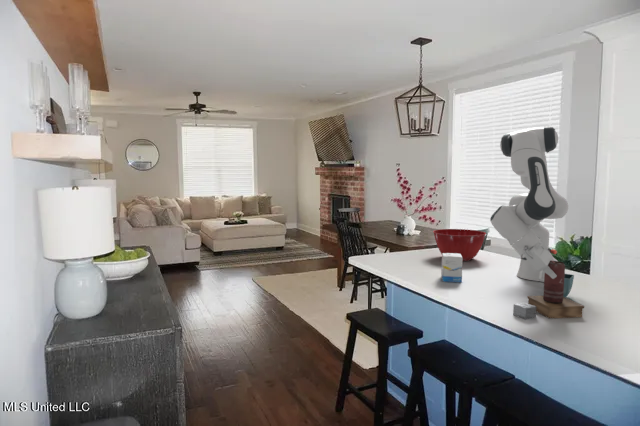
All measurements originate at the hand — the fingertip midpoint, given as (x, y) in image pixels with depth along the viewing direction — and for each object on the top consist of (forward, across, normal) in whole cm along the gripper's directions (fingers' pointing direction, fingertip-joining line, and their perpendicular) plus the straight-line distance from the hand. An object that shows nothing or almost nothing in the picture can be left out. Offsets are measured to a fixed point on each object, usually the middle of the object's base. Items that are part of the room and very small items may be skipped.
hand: (556, 274), depth 147 cm
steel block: (+4, -11, +15) cm, 19 cm away
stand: (+9, 0, +10) cm, 13 cm away
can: (+6, -1, +7) cm, 10 cm away
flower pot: (+9, +20, +10) cm, 25 cm away
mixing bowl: (-28, +72, +48) cm, 91 cm away
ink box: (-21, +24, +40) cm, 51 cm away
